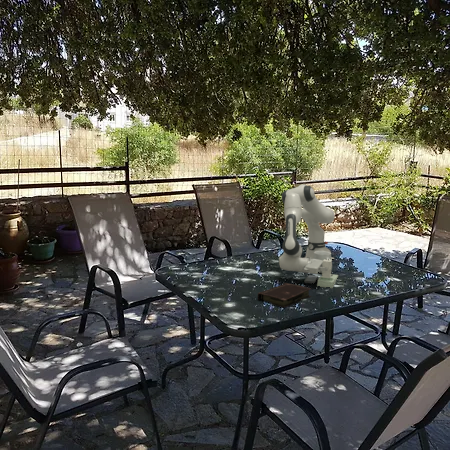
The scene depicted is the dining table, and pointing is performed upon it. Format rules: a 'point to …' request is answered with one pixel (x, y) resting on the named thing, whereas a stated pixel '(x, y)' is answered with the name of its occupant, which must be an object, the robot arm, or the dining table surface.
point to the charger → (327, 264)
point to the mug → (322, 256)
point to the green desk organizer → (327, 281)
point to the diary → (284, 294)
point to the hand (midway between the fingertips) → (328, 267)
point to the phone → (311, 279)
